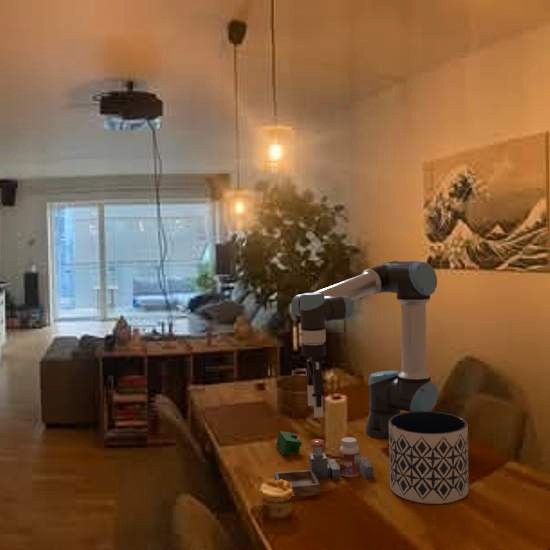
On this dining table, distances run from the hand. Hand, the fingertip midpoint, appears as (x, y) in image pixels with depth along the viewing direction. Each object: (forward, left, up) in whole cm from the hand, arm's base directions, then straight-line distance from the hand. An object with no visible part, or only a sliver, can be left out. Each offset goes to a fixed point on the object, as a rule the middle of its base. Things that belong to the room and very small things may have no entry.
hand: (315, 411), depth 199 cm
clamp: (+6, -25, -21) cm, 33 cm away
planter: (-30, +16, -21) cm, 40 cm away
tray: (+8, +8, -21) cm, 24 cm away
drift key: (0, 0, -17) cm, 17 cm away
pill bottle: (-10, 0, -21) cm, 23 cm away
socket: (-7, 0, -21) cm, 22 cm away
